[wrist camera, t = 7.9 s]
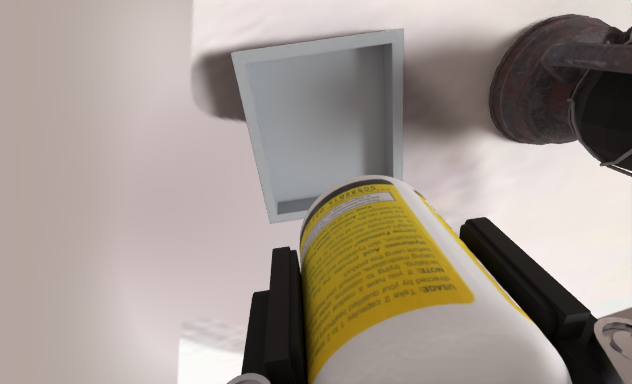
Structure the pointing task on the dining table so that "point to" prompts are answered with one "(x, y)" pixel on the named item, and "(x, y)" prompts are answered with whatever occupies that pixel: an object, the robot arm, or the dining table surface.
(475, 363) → the supplement bottle
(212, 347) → the dining table surface
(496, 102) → the lantern
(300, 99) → the tray
